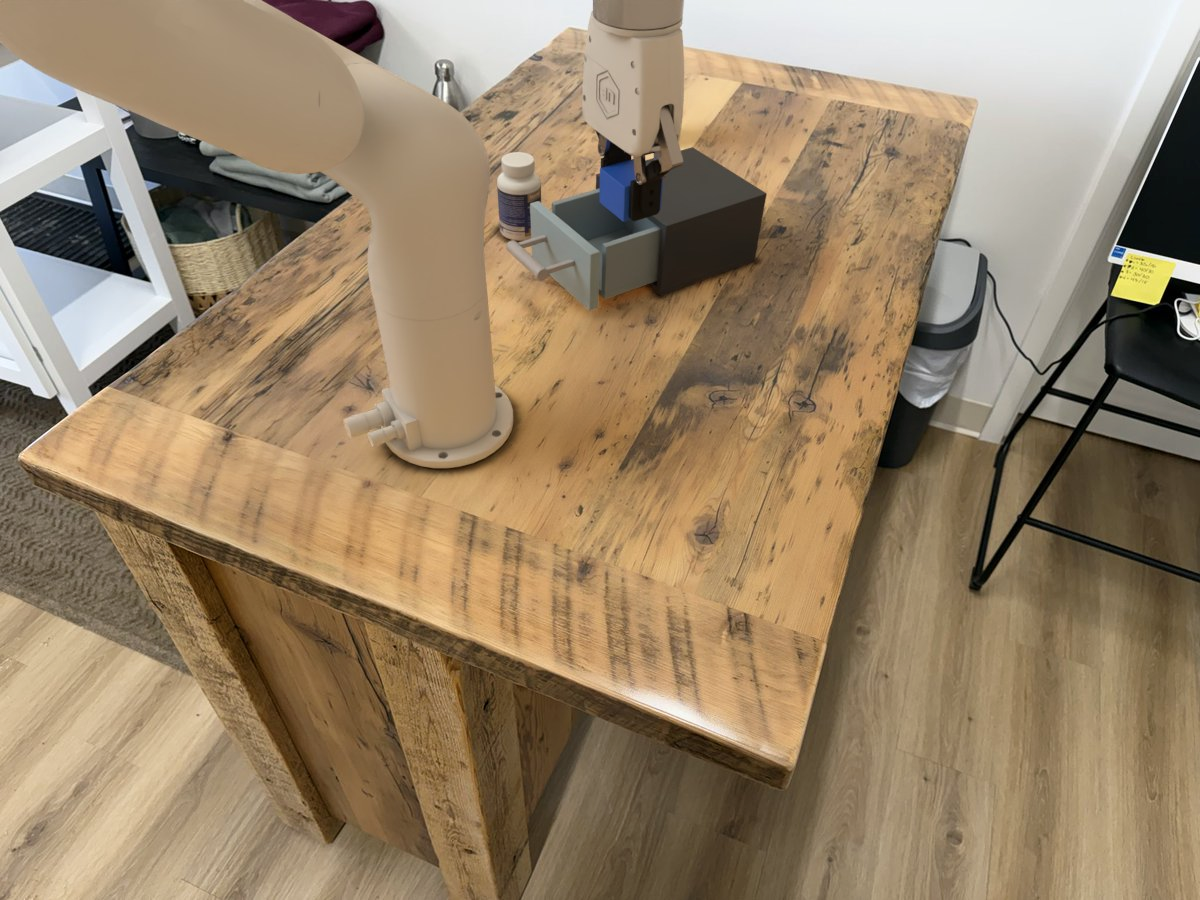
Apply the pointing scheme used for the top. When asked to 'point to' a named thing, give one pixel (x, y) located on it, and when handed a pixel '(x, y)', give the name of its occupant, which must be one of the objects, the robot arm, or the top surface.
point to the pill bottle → (517, 195)
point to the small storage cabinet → (704, 222)
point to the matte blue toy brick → (618, 188)
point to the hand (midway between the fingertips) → (629, 203)
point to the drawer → (589, 248)
